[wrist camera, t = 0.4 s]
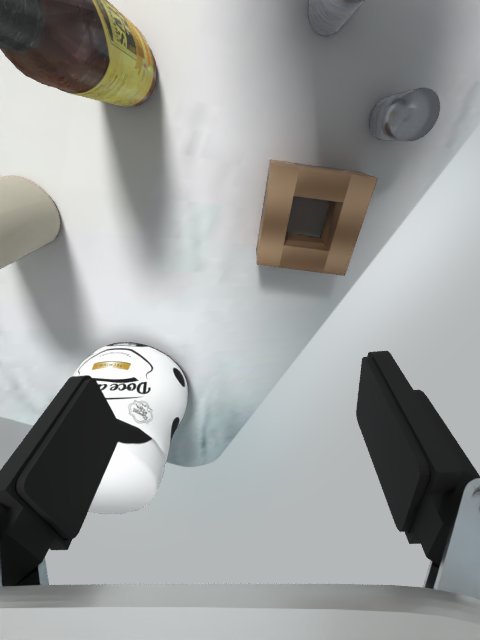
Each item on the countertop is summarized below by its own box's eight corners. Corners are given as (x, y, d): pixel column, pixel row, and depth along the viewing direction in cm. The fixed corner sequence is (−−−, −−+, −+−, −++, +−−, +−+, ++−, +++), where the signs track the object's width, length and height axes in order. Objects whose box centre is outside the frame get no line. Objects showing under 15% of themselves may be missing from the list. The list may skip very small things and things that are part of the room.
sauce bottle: (171, 60, 27) (45, -54, 11) (140, 123, 30) (0, 110, 13) (106, -2, 25) (-174, -262, 9) (79, 72, 28) (-174, -18, 11)
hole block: (270, 159, 32) (273, 163, 27) (361, 172, 32) (377, 178, 28) (256, 249, 37) (256, 264, 33) (334, 259, 37) (344, 275, 33)
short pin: (376, 93, 28) (404, 84, 23) (413, 98, 28) (448, 91, 23) (364, 137, 30) (386, 137, 25) (398, 141, 30) (427, 143, 25)
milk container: (135, 313, 43) (70, 412, 28) (213, 383, 50) (196, 492, 34) (66, 366, 49) (-17, 472, 34) (144, 422, 56) (104, 530, 41)
